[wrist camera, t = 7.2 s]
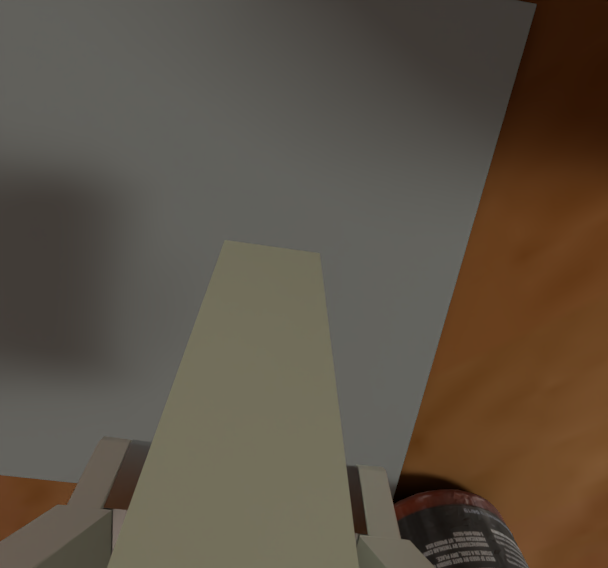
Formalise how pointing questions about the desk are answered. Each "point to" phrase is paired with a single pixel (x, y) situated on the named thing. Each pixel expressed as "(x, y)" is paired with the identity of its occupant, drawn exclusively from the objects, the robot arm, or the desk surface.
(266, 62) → the mat
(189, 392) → the tile
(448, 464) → the desk surface
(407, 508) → the supplement bottle
